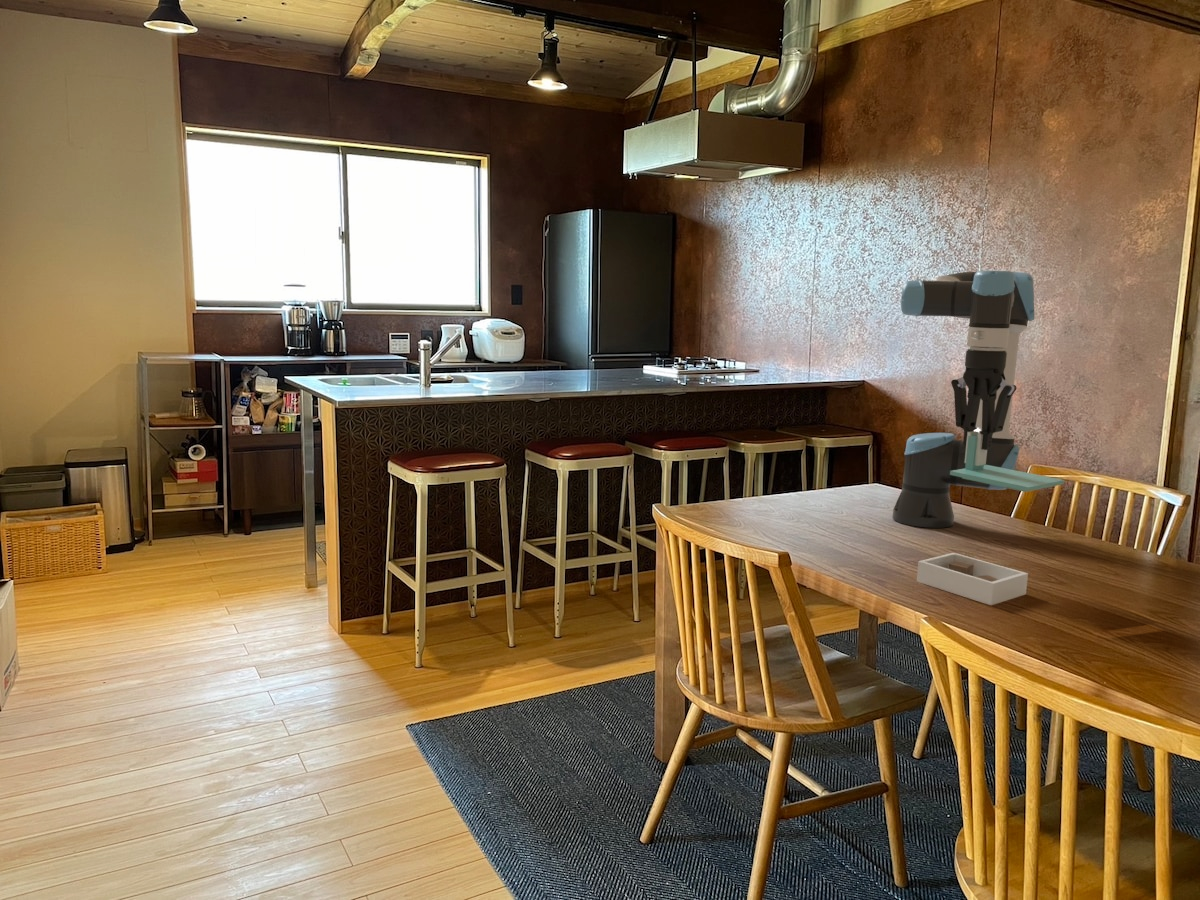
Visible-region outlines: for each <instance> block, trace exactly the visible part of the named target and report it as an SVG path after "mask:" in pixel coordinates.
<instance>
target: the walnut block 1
mask: <svg viewBox="0 0 1200 900" xmlns="http://www.w3.org/2000/svg"><path fill="white" fill-rule="evenodd" d="M973 567H974V564H969V563H965V562H961V561H954V562H952V563H950V564H949V569H950V570H954V571H957V572H961V573H964V574H967V575H971V576H973Z"/></svg>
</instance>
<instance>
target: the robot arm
mask: <svg viewBox="0 0 1200 900" xmlns="http://www.w3.org/2000/svg"><path fill="white" fill-rule="evenodd" d="M1034 290H1035V289H1034V277H1033V276H1032V275H1031V274H1030V273H1028V272H1018V271H1011V270H979V271H963V272H957V273H956V272H955V273H951V274H946V275H941V276H937V277H936V278H934V279H933V280H923V279H922V280H921V279H917V280H908V281H905V282H904V284H903V285H902V289H901V295H900V297H901V299H900V309H901V310H900V311H901V312H902V314H903V315H906V316H914V317H953V318H958V319H959V318H960V319H969V324H968V331H967V342H966V346H967V347H968V349H967V350H966V351H965V360H964V366H965V370H964V372H963V374H962V376H961V377H959V378H957V379H956V378H955V379H952V380H951V381H950V384H951V387H952V389H953V393H954V394H953V396H954V415H955V426H956V427H957V428H961V429H962V430H963V440H962V439H956V435H955V434H954V433H951V432H949V433H948V432H929V433H928V432H926V433H925V432H924V433H917V434H914V435H911V436H909V438H907V440H906V444H905V445H906V446H905V451H904V453H903V454H904V464H903V465H904V466H903V472H902V473H903V475H902V485H901V492H900V493H899V496H898V498H897V499H896V500H897V501H896V503H895V505H894V507H893V510H892V519H893V520H894V521H895V522H897V523H901V524H904V525H908V526H913V527H917V528H919V527H920V528H927V529H929V528H930V529H940V528H941V529H942V528H943V529H945V528H950V527H953V526H954V523H955V513H954V510H953V506H952V505H953V504H952V501H951V497H950V491H951V490H950V489H951V486H958V487H959V486H960V487H968V488H978V489H984V490H985V489H986V490H987V491H989V490H997V491H998V490H999V491H1004V490H1007V489H1008V488H1005V487H1000V486H995V485H991V484H986V483H981V482H977V481H972V480H967V479H963V478H962V477H958V476H953V475H950V471H953V470H959V469H965V465H966V455H967V445H968V436H970V435H978V438H977V447H976V457H975V465H977V466H979V465H990V466H995V467H1000V468H1005V469H1010V470H1015V469H1016V465H1017V460H1018V458H1019V452H1020V449H1021V447H1020V446H1019V445H1018V444H1016V443H1015V439H1016V438H1015V436H1014V435H1013V434H1012V433H1011V432H1010V424H1011V423H1010V422H1011V412H1012V405H1013V395H1014V394H1015V392H1016V390H1017V386H1016V384H1015V377H1016V369H1017V368H1016V367H1017V360H1018V359H1017V358H1018V349H1019V342H1020V335H1021V333H1023V332H1024V331H1025V330H1027V328H1028V322H1031V321H1034V320H1035V293H1034V292H1035V291H1034ZM966 387H967V388H966ZM967 389H968V391H967Z"/></svg>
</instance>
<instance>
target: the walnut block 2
mask: <svg viewBox="0 0 1200 900" xmlns="http://www.w3.org/2000/svg"><path fill="white" fill-rule="evenodd" d="M974 577H977V578H981V579H984V580H987V581H991V582H993V581H996V580H999V579H997V578H994V577H992V576H989V575H984V576H974Z"/></svg>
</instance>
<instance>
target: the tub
mask: <svg viewBox="0 0 1200 900" xmlns="http://www.w3.org/2000/svg"><path fill="white" fill-rule="evenodd" d="M954 561H961V562H965V563H969V564H974V567H973V576H971V575H967V574H964V573H961V572H957V571H954V570H950V569H949V564H950V563H952V562H954ZM984 575H989V576H992V577H994V578H997V579H999V580H996V581H993V582H991V581H987V580H984V579H981V578H977V577H974V576H984ZM1028 578H1029V573H1028V572H1025V571H1021V570H1017V569H1014V568H1010V567H1006V566H1002V565H999V564H996V563H992V562H988V561H985V560H981V559H978V558H974V557H971V556H969V555H968V556H967V555H963V554H960V553H957V552H951V553H947V554H946V553H945V554H942V555H938V556H934V557H931V558H927V559H923V560H922V559H921V560H918V563H917V573H916V582H917V583H920V584H922V585H926V586H930V587H932V588H935V589H937V590H938V589H939V590H942V591H944V592H948V593H950V594H954V595H956V596H957V595H958V596H960V597H963V598H966V599H969V600H973V601H975V602H978V603H982V604H985V605H989V606H994V605H998V604H1000V603H1002V602H1007V601H1011V600H1012V599H1017V598H1020V597H1022V596H1025V595H1027V588H1028V587H1027V586H1028Z"/></svg>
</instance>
